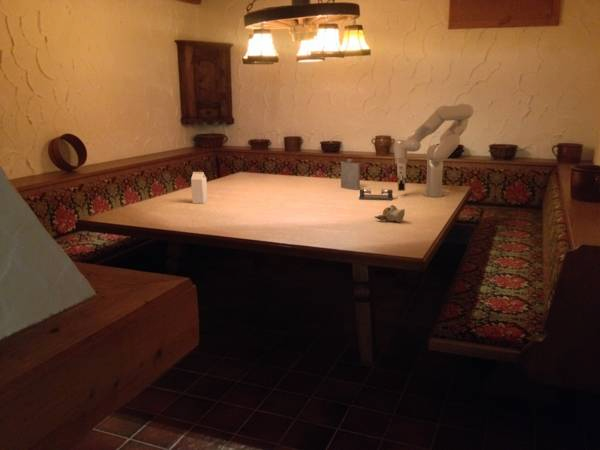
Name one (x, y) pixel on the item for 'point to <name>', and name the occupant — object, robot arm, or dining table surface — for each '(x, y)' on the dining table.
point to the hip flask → (350, 175)
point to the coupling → (398, 186)
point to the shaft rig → (375, 197)
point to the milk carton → (199, 187)
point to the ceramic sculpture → (392, 214)
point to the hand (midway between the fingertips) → (401, 188)
